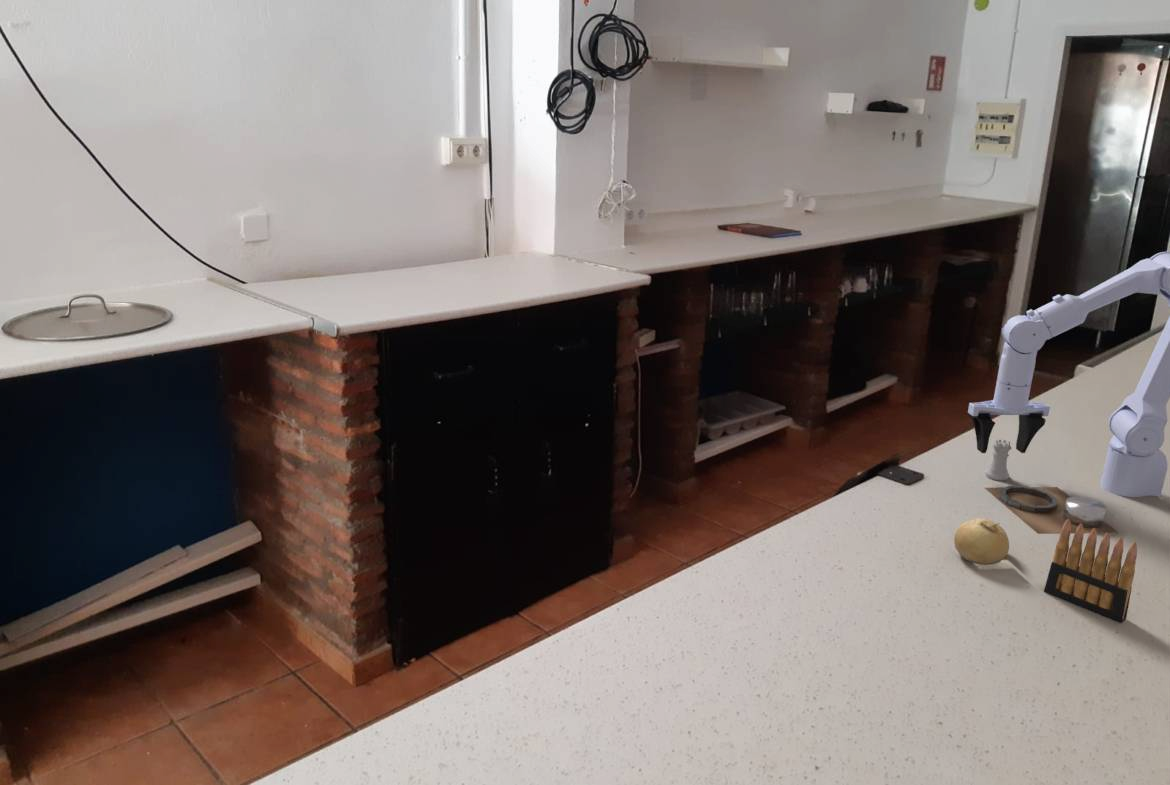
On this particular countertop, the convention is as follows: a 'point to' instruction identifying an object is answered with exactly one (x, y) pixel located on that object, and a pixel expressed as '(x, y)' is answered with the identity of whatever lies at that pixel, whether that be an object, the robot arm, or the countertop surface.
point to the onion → (981, 541)
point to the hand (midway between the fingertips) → (1000, 451)
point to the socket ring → (1028, 507)
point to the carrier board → (1045, 521)
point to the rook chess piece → (999, 461)
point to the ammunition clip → (1092, 574)
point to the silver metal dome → (1084, 512)
